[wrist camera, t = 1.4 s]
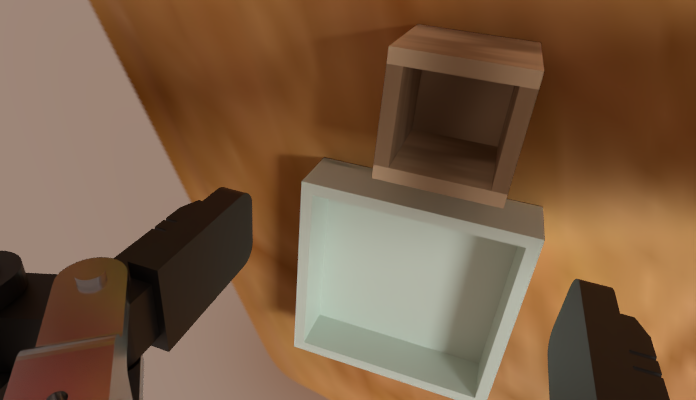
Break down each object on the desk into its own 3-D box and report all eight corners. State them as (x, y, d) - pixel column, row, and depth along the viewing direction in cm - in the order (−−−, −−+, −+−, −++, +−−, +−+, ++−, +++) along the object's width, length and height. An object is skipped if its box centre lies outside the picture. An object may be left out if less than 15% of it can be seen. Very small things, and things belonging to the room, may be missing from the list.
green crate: (543, 207, 26) (544, 240, 23) (487, 367, 33) (483, 408, 30) (324, 157, 29) (301, 181, 26) (313, 313, 36) (294, 346, 33)
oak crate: (540, 42, 23) (544, 71, 18) (508, 156, 26) (503, 208, 21) (417, 24, 24) (388, 46, 19) (400, 134, 27) (371, 178, 22)
